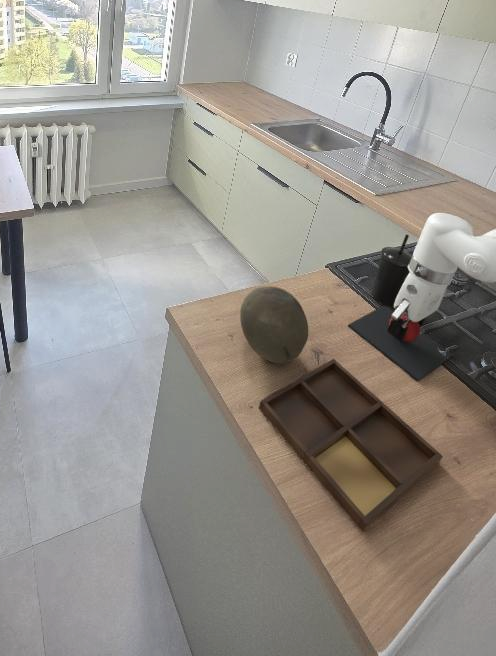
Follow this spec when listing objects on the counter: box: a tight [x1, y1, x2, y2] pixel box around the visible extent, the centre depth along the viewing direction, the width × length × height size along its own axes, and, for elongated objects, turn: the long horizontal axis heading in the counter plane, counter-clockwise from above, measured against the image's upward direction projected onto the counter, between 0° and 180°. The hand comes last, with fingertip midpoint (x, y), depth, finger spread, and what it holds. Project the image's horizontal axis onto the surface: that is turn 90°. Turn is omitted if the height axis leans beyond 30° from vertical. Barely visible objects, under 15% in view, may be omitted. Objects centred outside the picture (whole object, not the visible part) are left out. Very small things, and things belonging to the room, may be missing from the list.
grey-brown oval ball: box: [239, 285, 309, 364], centre depth 90 cm, size 14×14×15 cm
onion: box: [389, 315, 421, 341], centre depth 95 cm, size 6×6×8 cm
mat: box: [347, 305, 454, 382], centre depth 97 cm, size 16×14×1 cm
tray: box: [258, 358, 444, 532], centre depth 76 cm, size 21×21×2 cm
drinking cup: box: [371, 234, 413, 306], centre depth 105 cm, size 8×8×20 cm
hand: (403, 330), depth 95 cm, fingers closed on onion, 5 cm apart
